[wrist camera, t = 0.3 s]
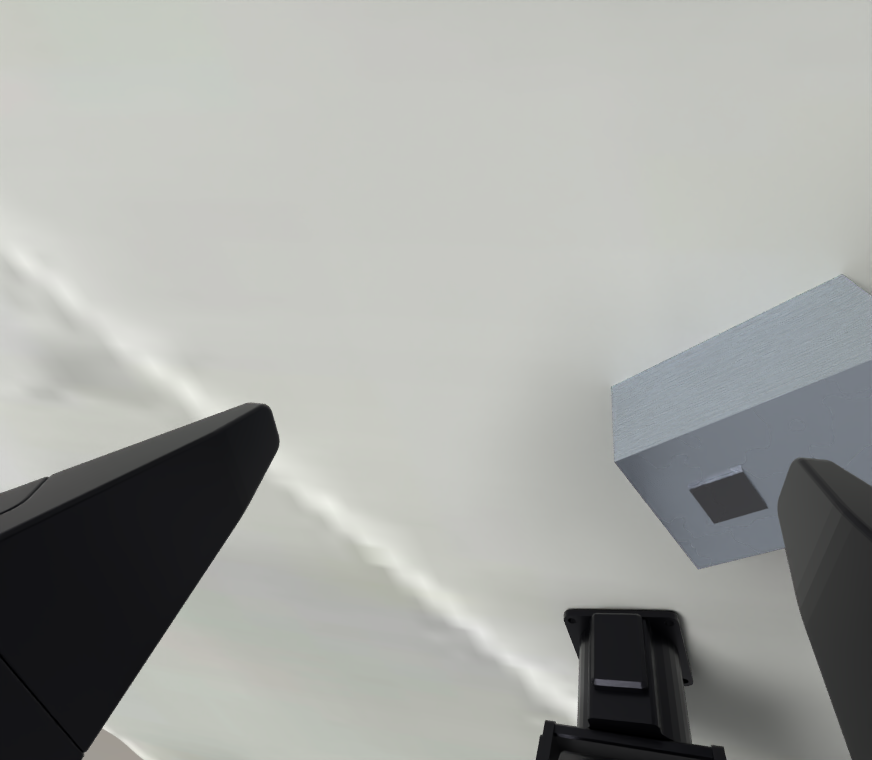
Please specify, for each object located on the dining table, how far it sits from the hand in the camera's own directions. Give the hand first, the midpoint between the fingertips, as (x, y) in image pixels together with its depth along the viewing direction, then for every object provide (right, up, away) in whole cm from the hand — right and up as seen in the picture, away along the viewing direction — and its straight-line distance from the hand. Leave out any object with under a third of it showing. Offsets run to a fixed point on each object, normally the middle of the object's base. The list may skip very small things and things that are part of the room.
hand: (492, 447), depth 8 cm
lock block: (+12, +1, +12) cm, 17 cm away
